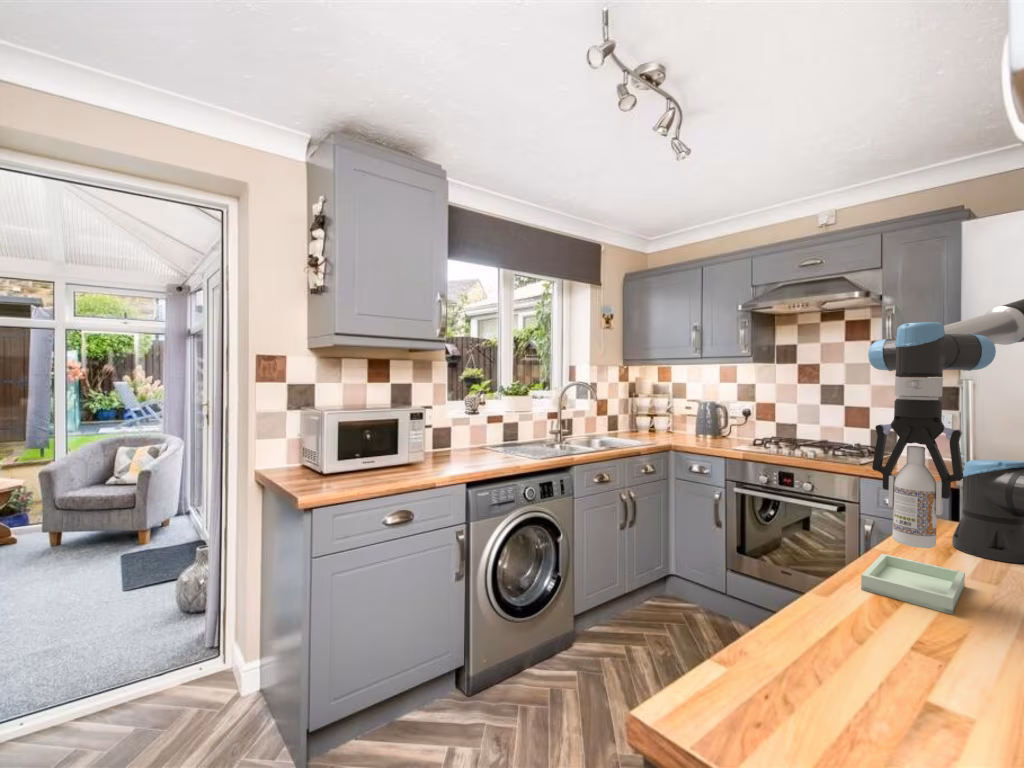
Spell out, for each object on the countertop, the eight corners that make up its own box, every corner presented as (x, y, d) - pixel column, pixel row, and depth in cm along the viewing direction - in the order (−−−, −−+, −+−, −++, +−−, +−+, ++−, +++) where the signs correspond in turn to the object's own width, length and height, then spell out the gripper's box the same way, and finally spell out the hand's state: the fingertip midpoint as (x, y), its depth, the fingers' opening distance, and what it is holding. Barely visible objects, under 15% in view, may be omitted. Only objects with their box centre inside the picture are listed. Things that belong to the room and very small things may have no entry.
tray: (881, 566, 112) (882, 553, 112) (964, 586, 102) (964, 572, 102) (861, 589, 100) (861, 574, 100) (952, 614, 90) (953, 598, 90)
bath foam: (933, 551, 96) (936, 450, 95) (889, 542, 101) (891, 446, 100) (937, 543, 101) (940, 446, 100) (895, 535, 106) (897, 443, 105)
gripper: (855, 396, 105) (852, 503, 105) (983, 401, 90) (979, 524, 91) (864, 396, 110) (861, 497, 110) (986, 400, 95) (983, 517, 96)
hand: (914, 509), depth 101 cm, fingers closed on bath foam, 7 cm apart
